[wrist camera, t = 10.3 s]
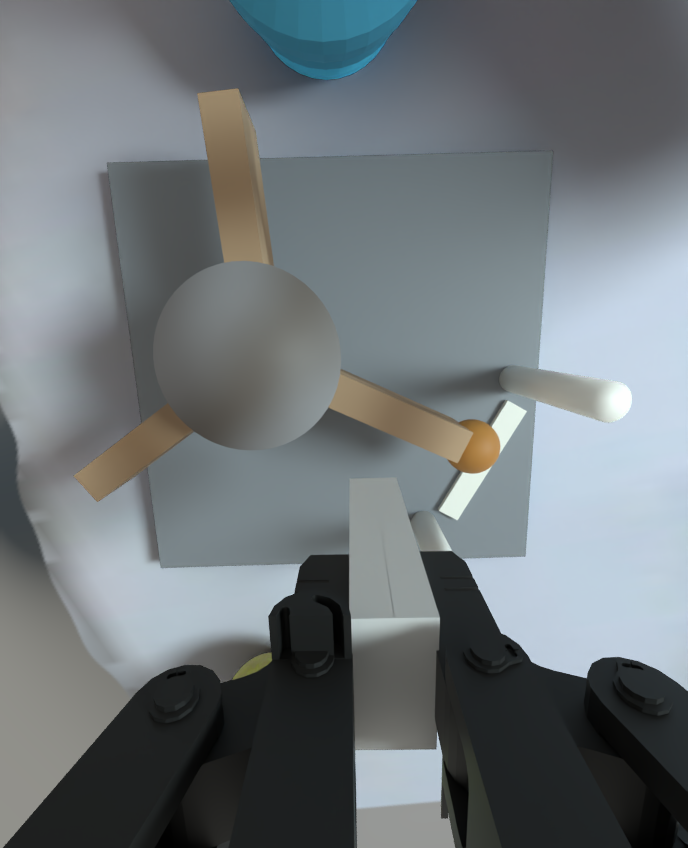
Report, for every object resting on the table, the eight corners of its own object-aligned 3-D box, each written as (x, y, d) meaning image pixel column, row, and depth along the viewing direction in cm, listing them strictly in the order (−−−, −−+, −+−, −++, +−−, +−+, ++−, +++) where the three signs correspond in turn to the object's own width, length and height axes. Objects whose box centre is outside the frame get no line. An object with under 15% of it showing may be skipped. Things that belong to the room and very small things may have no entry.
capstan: (129, 456, 22) (37, 508, 15) (239, 140, 19) (184, 32, 12) (404, 566, 23) (430, 658, 17) (547, 290, 20) (648, 267, 14)
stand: (117, 170, 20) (-53, 43, 11) (542, 159, 20) (697, 24, 12) (167, 558, 25) (72, 682, 16) (517, 547, 25) (616, 664, 16)
